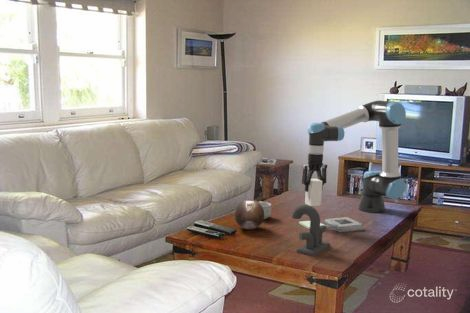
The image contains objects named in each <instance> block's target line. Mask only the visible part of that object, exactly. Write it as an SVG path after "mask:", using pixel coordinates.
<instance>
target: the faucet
mask: <svg viewBox="0 0 470 313" xmlns="http://www.w3.org/2000/svg"><path fill="white" fill-rule="evenodd" d="M304 215H305V216H308V217H309V221H310V229H309V232H307V231H304V232H302V231H301V232H299V234H298V238H299V240H300V241H305V244H304V245H302V246H301V247H299V248H298V249H296V253H298V254H302V255H307V256H308V257H309V256H311V257H315V256H317V255H319V254H320V253H322V252H323V251H325V250H327V249H328V248H330V247H331V243H329V242H327V241H323V234H324V233H325V232H326V231H327V226H326V225H325V226H324V225H321V226H320V223H321V218H320V217H321V216H320V214H319V212H318V211H317V210H316V209H315V207H314V206H309V205H307V204H301V205H298V206H297V207H296V208H295V209H294V210H293V212H292V215H291V218H292V219H294V220H300V219H301V218H303V217H302V216H304Z"/></svg>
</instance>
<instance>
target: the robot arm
mask: <svg viewBox="0 0 470 313" xmlns="http://www.w3.org/2000/svg"><path fill="white" fill-rule="evenodd" d="M406 112H407V111H406V109H405V107H404V105H403V104H402V103H400V102H396V101H394V100H393V101H391V100H388V101H387V100H375V101H371V102H367V103H365V104H362V105H360V106H358V107H357V109H354V110H351V111H349V112H346V113H344V114H341V115H338V116H336V117H332V118H329V119H328V120H325V121H321V122H312V123H310V124H309V126H308V127H307V133H308V136H309V137H308V154H307V155H308V156H307V160H308V161H307V164H302V175H301V185H302V184H303V185H304V192H305V193H306V197H307V198H310V186H309V183H310V180H311V179H312V177H313V174H314V172H316V176H317V179H319V180H321V181H322V190H323V187H324V185H325V184H327V170H328V165H327V164H325V163H323V160H324V150H325V148H324V144H325V142H339V141H340V142H341V141H343V139H344V137H345V130H344V129H347V128H349V127H351V126H354V125H357V124H360V123H369V122H378V127H379V128H380V129H381V165H382V167H381V168H382V169H381V170H382V171H381V170H366V171H364V172H363V178H362V193H361V194H362V195H361V198H360V201H359V203H358V210H360V211H362V212H365V213H366V212H367V213H373V214H374V213H375V214H377V213H383V212H385V210H386V206H385V202H384V197H386V198H388V199H393V200H396V199H399V198H400V197H402V196H403V194H405V193H404V192H405V191H406V182H405V181H404V180H403V179H402V174H401V172H400V171H399V129H400V128H401V127H402V124H403V122H405V119H406V116H407V113H406Z"/></svg>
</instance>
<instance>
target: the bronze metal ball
mask: <svg viewBox="0 0 470 313" xmlns="http://www.w3.org/2000/svg"><path fill="white" fill-rule="evenodd" d="M258 202H259V201H257V200H255V199H245V200H242V201H241V202H239V203H238V204H237V205H236V207H235V209H234V219H235V221H236V223H237V225H238V226H239V227H241V228H242V229H244V230H245V229H246V230H255V229H257V228H259V226H261V225H262V223H263V221H264V220H265V219H264V210H263V207H262V206H261V205H260V204H259V203H258Z"/></svg>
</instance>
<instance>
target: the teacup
mask: <svg viewBox="0 0 470 313" xmlns="http://www.w3.org/2000/svg"><path fill="white" fill-rule="evenodd" d="M257 202H258V203H259V204H260V205H261V206H262V207H263V210H264V219H263V220H266V219H269V217H270V216H271V214H272V213H271V212H272V203H270V202H268V201H261V200H260V201H257Z"/></svg>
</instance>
